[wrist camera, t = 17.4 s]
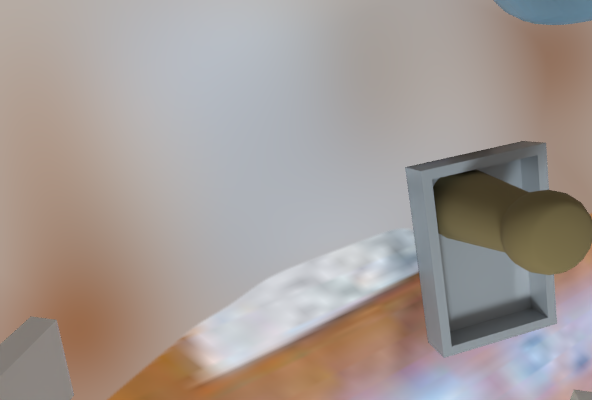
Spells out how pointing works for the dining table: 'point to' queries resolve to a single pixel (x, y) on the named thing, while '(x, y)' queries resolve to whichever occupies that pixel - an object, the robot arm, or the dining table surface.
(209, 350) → the dining table surface
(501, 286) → the trough
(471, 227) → the cork
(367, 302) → the dining table surface
